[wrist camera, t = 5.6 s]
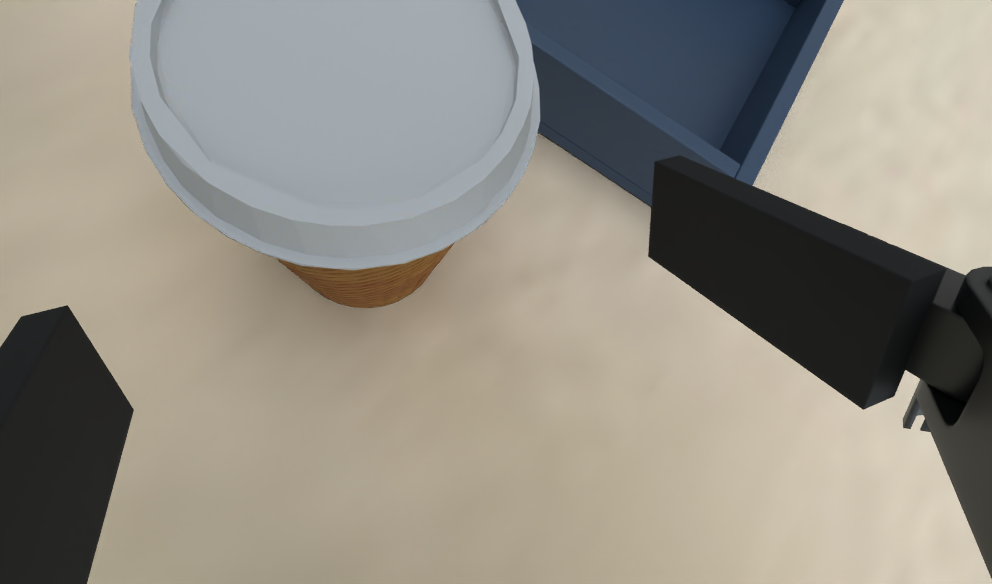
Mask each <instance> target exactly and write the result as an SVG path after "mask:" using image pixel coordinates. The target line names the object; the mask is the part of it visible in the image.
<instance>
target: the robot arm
mask: <svg viewBox="0 0 992 584" xmlns="http://www.w3.org/2000/svg"><path fill="white" fill-rule="evenodd" d="M648 257H650V258H651V259H653V260H654V261H655V262H657V263H658V264H660V265H661V266H662V267H664V268H665V269H667V270H668V271H669V272H671V273H672V274H674V275H675V276H676V277H678V278H679V279H681V280H682V281H684V282H685V283H686V284H688V285H689V286H691V287H692V288H693V289H695V290H696V291H698V292H699V293H700V294H702V295H703V296H705V297H706V298H707V299H709V300H710V301H712V302H713V303H714V304H716V305H717V306H719V307H720V308H721V309H723V310H724V311H726V312H727V313H728V314H730V315H731V316H733V317H734V318H735V319H737V320H738V321H740V322H741V323H742V324H744V325H745V326H747V327H748V328H749V329H751V330H752V331H754V332H755V333H757V334H758V335H759V336H761V337H762V338H764V339H765V340H766V341H768V342H769V343H771V344H772V345H773V346H775V347H776V348H778V349H779V350H780V351H782V352H783V353H785V354H786V355H787V356H789V357H790V358H792V359H793V360H794V361H796V362H797V363H799V364H800V365H801V366H803V367H804V368H806V369H807V370H808V371H810V372H811V373H813V374H814V375H815V376H817V377H818V378H820V379H821V380H822V381H824V382H825V383H827V384H828V385H830V386H831V387H832V388H834V389H835V390H837V391H838V392H839V393H841V394H842V395H844V396H845V397H846V398H848V399H849V400H851V401H852V402H853V403H855V404H856V405H858V406H859V407H860V408H862V409H863V410H864V409H866V408H868V407H870V406H873V405H875V404H877V403H880V402H882V401H884V400H886V399H889V398H891V397H893V396H894V395H895V393H896V391H897V388H898V386H899V383H900V381H901V378H902V376H903V374H904V371H905V370H907V371H908V372H910V373H912V374H913V375H915V376H917V377H918V378H920V381H919V384H918V386H917V388H916V390H915V393H914V395H913V397H912V400H911V402H910V404H909V406H908V409H907V411H906V413H905V416H904V418H903V428H908V429H911V426H912V424H913V422H914V420H915V418H916V416H917V415H924V417H925V420H924V422H923V424H922V426H921V429H920V430H921V431H927V432H931V434H932V436H933V439H934V441H935V444H936V446H937V448H938V451H939V453H940V456H941V458H942V461H943V463H944V465H945V468H946V470H947V473H948V475H949V477H950V480H951V482H952V485H953V487H954V489H955V492H956V494H957V497H958V499H959V501H960V504H961V506H962V509H963V511H964V513H965V516H966V518H967V521H968V523H969V525H970V528H971V530H972V533H973V535H974V537H975V540H976V542H977V545H978V547H979V549H980V552H981V554H982V557H983V559H984V561H985V564H986V566H987V569H988V571H989V573H990V576H991V578H992V267H981V268H977V269H973V270H971V271H970V272H969V273H968V274H967V275H963V274H961V273H958V272H956V271H953V270H951V269H949V268H946V267H944V266H942V265H939V264H937V263H935V262H932V261H930V260H927V259H925V258H923V257H920V256H918V255H916V254H913V253H911V252H909V251H906V250H904V249H901V248H899V247H897V246H894V245H891V244H888V243H887V242H885V241H883V240H880V239H878V238H875V237H873V236H869V235H868V234H866V233H864V232H861V231H859V230H857V229H854V228H852V227H849V226H847V225H845V224H841V223H839V222H836V221H834V220H832V219H829V218H827V217H825V216H822V215H820V214H817V213H815V212H813V211H810V210H808V209H806V208H803V207H801V206H799V205H796V204H794V203H791V202H789V201H787V200H784V199H782V198H780V197H777V196H775V195H773V194H770V193H768V192H766V191H763V190H761V189H758V188H756V187H754V186H751V185H749V184H747V183H744V182H742V181H740V180H737V179H735V178H732V177H730V176H728V175H725V174H723V173H721V172H718V171H716V170H714V169H711V168H709V167H707V166H704V165H702V164H699V163H697V162H695V161H692V160H690V159H688V158H685V157H683V156H681V155H679V156H674V157H670V158H666V159H662V160H658V161H654V177H653V192H652V207H651V222H650V238H649V253H648ZM133 411H134V409H133V408H132V406H131V405H130V403H129V402H128V400H127V398H126V397H125V395H124V394H123V392H122V390H121V389H120V387H119V386H118V384H117V383H116V381H115V379H114V378H113V376H112V375H111V373H110V371H109V370H108V368H107V367H106V365H105V364H104V362H103V360H102V359H101V357H100V356H99V354H98V353H97V351H96V349H95V348H94V346H93V345H92V343H91V341H90V340H89V338H88V337H87V335H86V334H85V332H84V330H83V329H82V327H81V326H80V324H79V322H78V321H77V319H76V318H75V316H74V315H73V313H72V311H71V310H70V308H69V307H68V305H67V306H63V307H59V308H55V309H51V310H47V311H42V312H38V313H34V314H30V315H26V316H22V317H21V318H20V319H19V321H18V322H17V324H16V325H15V327H14V328H13V330H12V331H11V333H10V334H9V335H8V337H7V338H6V340H5V341H4V343H3V344H2V346H1V347H0V584H87V581H88V577H89V574H90V570H91V566H92V563H93V559H94V555H95V552H96V548H97V544H98V540H99V537H100V533H101V529H102V526H103V522H104V518H105V514H106V511H107V507H108V503H109V500H110V496H111V492H112V489H113V485H114V481H115V477H116V474H117V470H118V466H119V463H120V459H121V455H122V451H123V448H124V444H125V440H126V437H127V433H128V429H129V425H130V422H131V418H132V414H133Z"/></svg>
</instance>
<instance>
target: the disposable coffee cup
mask: <svg viewBox="0 0 992 584" xmlns="http://www.w3.org/2000/svg"><path fill="white" fill-rule="evenodd" d="M129 57H130V61H131V99H132V111H133V114H134V117H135V120H136V123H137V126H138V129H139V132H140V135H141V139H142V142H143V145H144V148H145V151H146V152H147V154H148V155H149V157H150V159H151V160H152V162H153V163H154V165H155V167H156V168H157V170H158V171H159V173H160V175H161V176H162V178H163V180H164V181H165V183H166V184H167V186H168V187H169V188H170V189H171V190H172V191H173V192H174V193H175V194H176V195H177V196H178V198H179V199H180V200H181V201H182V202H183V203H184V204H185V205H186V206H187V207H188V208H189V209H190V210H192V211H193V212H194V213H195V214H196V215H197V216H199V217H200V218H202V219H203V220H204V221H206V222H207V223H209V224H210V225H211V226H213V227H214V228H216V229H217V230H218V231H220V232H221V233H223V234H224V235H225V236H227V237H229V238H231V239H233V240H235V241H237V242H239V243H241V244H243V245H245V246H247V247H249V248H251V249H254V250H256V251H258V252H260V253H262V254H265V255H268V256H271V257H274V258H276V259H278V260H279V262H281V263H282V264H284V265H285V266H286V267H287V268H289V269H290V270H291V271H292V272H294V273H295V274H296V275H297V276H299V277H300V278H301V279H302V280H304V281H305V282H306V283H308V284H309V285H310V286H311V287H312V288H313V289H314V290H316V291H317V292H319V293H320V294H321V295H323V296H324V297H326V298H328V299H330V300H332V301H334V302H336V303H339V304H343V305H347V306H351V307H360V308H372V307H380V306H385V305H388V304H391V303H394V302H397V301H399V300H401V299H403V298H404V297H406V296H408V295H409V294H411V293H413V292H414V291H415V290H416V289H417V288H419V287H420V286H421V285H422V284H423V282H424V281H425V280H426V279H427V277H428V276H429V275H430V273H431V272H432V270H433V269H434V268H435V267H436V265H437V264H438V263H439V262H440V261H441V259H442V258H443V257H444V255H445V254H446V253H447V251H448V250H449V249H450V248H451V247H452V245H453V244H454V243H455V242H456V241H458V240H460V239H461V238H463V237H465V236H466V235H468V234H469V233H471V232H473V231H474V230H476V229H478V228H479V227H481V226H482V225H483V224H484V223H485V222H486V221H487V220H488V219H489V218H490V217H491V216H492V215H493V214H494V213H495V212H496V211H497V210H498V209H499V208H500V207H501V206H502V205H503V204H504V202H505V201H506V200H507V199H508V197H509V196H510V194H511V193H512V191H513V190H514V188H515V187H516V185H517V184H518V183H519V181H520V180H521V178H522V176H523V174H524V172H525V169H526V167H527V165H528V162H529V160H530V158H531V155H532V153H533V151H534V147H535V142H536V137H537V132H538V128H539V123H540V96H539V84H538V79H537V74H536V70H535V65H534V62H533V52H532V44H531V40H530V37H529V33H528V29H527V26H526V23H525V21H524V18H523V16H522V14H521V12H520V9H519V7H518V5H517V3H516V0H137V2H136V4H135V10H134V19H133V28H132V38H131V47H130V56H129Z"/></svg>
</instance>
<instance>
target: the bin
mask: <svg viewBox="0 0 992 584" xmlns="http://www.w3.org/2000/svg"><path fill="white" fill-rule="evenodd" d="M843 1H844V0H516V3H517V5H518V7H519V9H520V12H521V14H522V16H523V18H524V21H525V23H526V26H527V29H528V33H529V37H530V40H531V44H532V52H533V62H534V65H535V70H536V74H537V79H538V84H539V96H540V123H539V128H538V132H539V133H541V134H542V135H544V136H545V137H547V138H548V139H550V140H551V141H553V142H554V143H556V144H557V145H559V146H560V147H562V148H563V149H565V150H566V151H568V152H569V153H571V154H572V155H574V156H575V157H577V158H579V159H580V160H582V161H583V162H585V163H586V164H588V165H589V166H591V167H592V168H594V169H595V170H597V171H598V172H600V173H601V174H603V175H604V176H606V177H607V178H609V179H610V180H612V181H613V182H615V183H616V184H618V185H619V186H621V187H622V188H624V189H625V190H627V191H628V192H630V193H631V194H633V195H634V196H636V197H637V198H639V199H640V200H642V201H643V202H645V203H646V204H648V205H649V206H651V207H652V192H653V177H654V161H658V160H662V159H666V158H670V157H674V156H679V155H681V156H683V157H685V158H688V159H690V160H692V161H695V162H697V163H699V164H702V165H704V166H707V167H709V168H711V169H714V170H716V171H718V172H721V173H723V174H725V175H728V176H730V177H732V178H735V179H737V180H740V181H742V182H744V183H747V184H749V185H751V186H752V185H753V183H754V181H755V179H756V177H757V175H758V173H759V171H760V169H761V167H762V165H763V163H764V161H765V159H766V157H767V155H768V153H769V151H770V149H771V147H772V145H773V143H774V141H775V139H776V137H777V135H778V133H779V131H780V129H781V127H782V124H783V122H784V120H785V118H786V116H787V114H788V112H789V110H790V108H791V106H792V104H793V102H794V100H795V98H796V96H797V94H798V92H799V90H800V88H801V86H802V84H803V82H804V80H805V78H806V76H807V74H808V72H809V70H810V68H811V66H812V64H813V62H814V60H815V58H816V56H817V54H818V52H819V50H820V47H821V45H822V43H823V41H824V39H825V37H826V35H827V33H828V31H829V29H830V27H831V25H832V23H833V21H834V19H835V17H836V15H837V13H838V11H839V9H840V7H841V5H842V3H843Z"/></svg>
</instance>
